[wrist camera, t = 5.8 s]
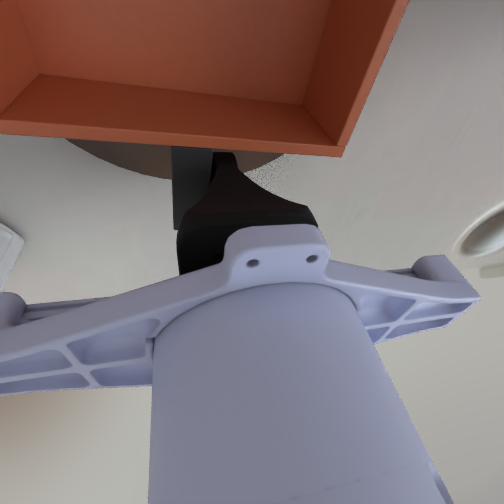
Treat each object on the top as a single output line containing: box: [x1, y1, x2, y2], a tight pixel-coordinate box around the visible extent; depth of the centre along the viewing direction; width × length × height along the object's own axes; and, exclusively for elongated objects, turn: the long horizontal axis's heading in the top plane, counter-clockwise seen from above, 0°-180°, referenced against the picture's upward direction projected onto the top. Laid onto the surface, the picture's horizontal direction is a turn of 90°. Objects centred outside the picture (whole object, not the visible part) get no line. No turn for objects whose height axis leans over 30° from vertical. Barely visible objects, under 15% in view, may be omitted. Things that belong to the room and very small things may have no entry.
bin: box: [0, 0, 409, 230], centre depth 11 cm, size 13×13×5 cm
